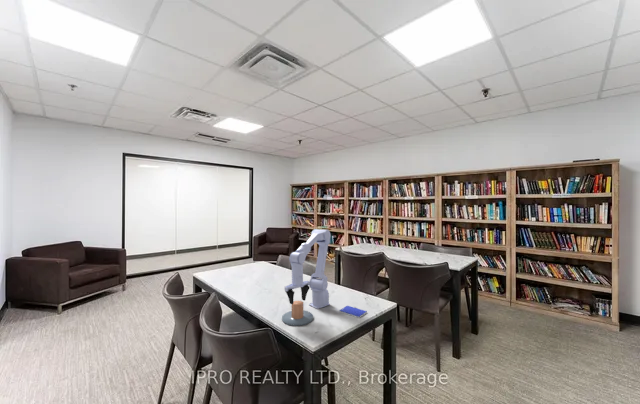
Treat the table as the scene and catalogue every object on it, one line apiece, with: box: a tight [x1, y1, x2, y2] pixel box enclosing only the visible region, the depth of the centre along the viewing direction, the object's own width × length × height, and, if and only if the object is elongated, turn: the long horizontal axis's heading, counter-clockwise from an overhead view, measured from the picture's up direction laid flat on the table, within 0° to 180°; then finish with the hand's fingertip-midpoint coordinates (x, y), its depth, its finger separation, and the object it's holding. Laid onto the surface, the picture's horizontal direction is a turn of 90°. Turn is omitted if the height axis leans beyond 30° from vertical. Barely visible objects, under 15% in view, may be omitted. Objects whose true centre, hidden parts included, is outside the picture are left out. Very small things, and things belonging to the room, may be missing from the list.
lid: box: [281, 310, 314, 327], centre depth 132 cm, size 16×16×1 cm
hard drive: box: [339, 305, 368, 319], centre depth 140 cm, size 2×8×12 cm
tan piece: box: [291, 300, 305, 319], centre depth 132 cm, size 6×6×7 cm
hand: (297, 301), depth 133 cm, fingers open, 7 cm apart
